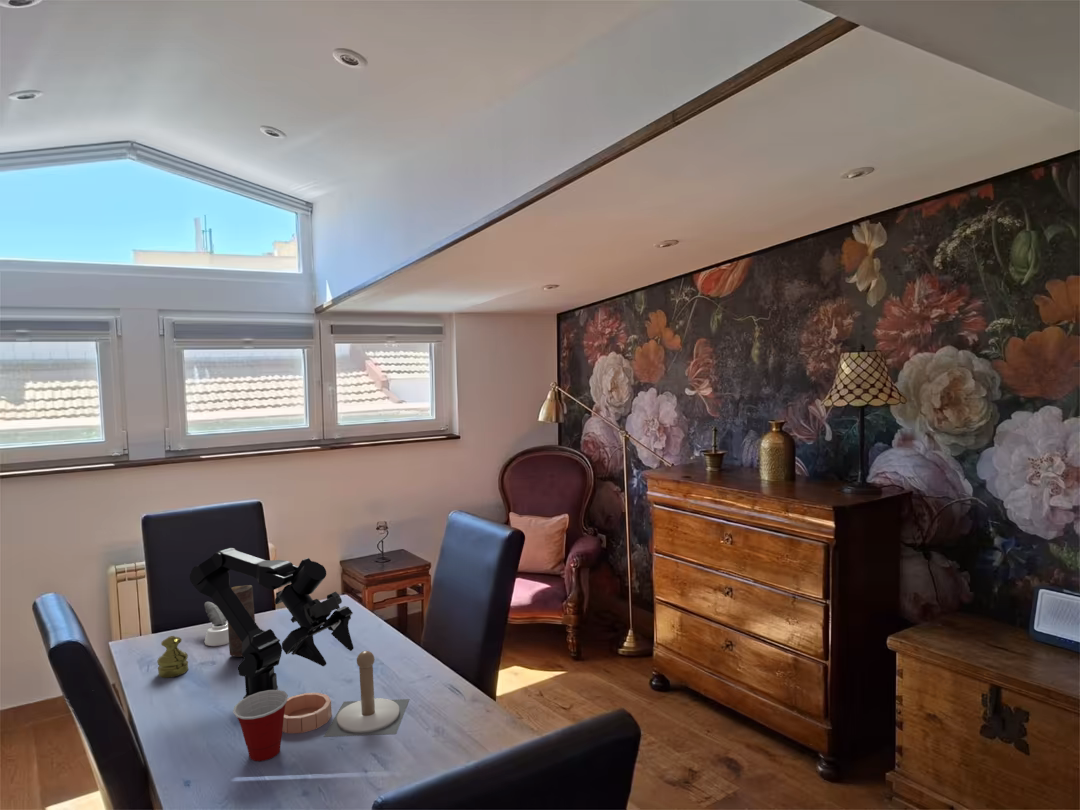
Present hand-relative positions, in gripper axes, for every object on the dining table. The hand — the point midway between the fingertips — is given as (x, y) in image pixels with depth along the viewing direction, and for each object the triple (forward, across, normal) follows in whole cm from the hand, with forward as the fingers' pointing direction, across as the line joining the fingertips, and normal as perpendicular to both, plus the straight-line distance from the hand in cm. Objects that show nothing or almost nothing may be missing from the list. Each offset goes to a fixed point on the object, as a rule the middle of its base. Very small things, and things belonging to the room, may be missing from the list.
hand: (339, 657), depth 163 cm
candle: (-26, +16, +46) cm, 55 cm away
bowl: (+6, -6, +14) cm, 16 cm away
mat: (+15, 0, +4) cm, 16 cm away
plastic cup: (+8, -21, +12) cm, 25 cm away
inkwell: (-41, +23, +60) cm, 76 cm away
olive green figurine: (-33, 0, +52) cm, 62 cm away
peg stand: (+15, 0, +4) cm, 15 cm away
